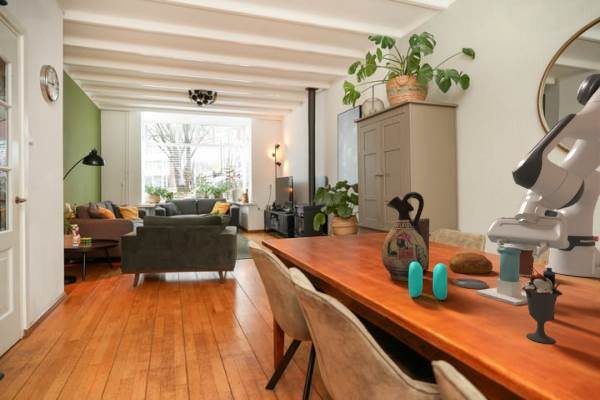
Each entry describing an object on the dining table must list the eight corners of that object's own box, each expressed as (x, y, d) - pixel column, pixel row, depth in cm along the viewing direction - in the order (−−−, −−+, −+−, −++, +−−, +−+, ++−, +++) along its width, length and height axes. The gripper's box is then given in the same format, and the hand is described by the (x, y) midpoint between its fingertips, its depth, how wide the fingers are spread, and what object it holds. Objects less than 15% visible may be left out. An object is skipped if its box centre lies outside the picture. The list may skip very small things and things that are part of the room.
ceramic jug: (377, 281, 120) (378, 191, 119) (384, 271, 134) (385, 191, 133) (431, 286, 113) (432, 192, 113) (433, 275, 128) (434, 191, 127)
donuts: (447, 305, 95) (447, 267, 95) (408, 301, 98) (408, 264, 98) (445, 294, 104) (446, 260, 104) (410, 291, 108) (410, 258, 107)
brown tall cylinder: (430, 273, 131) (430, 219, 130) (409, 272, 132) (409, 218, 132) (427, 269, 138) (427, 217, 138) (407, 268, 140) (407, 217, 139)
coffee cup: (504, 274, 129) (504, 241, 129) (510, 270, 136) (511, 239, 136) (534, 278, 123) (534, 244, 123) (539, 274, 130) (539, 241, 129)
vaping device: (550, 320, 83) (551, 269, 83) (527, 313, 88) (528, 265, 88) (557, 318, 85) (558, 268, 84) (533, 312, 89) (534, 264, 89)
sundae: (513, 332, 76) (514, 263, 76) (543, 331, 77) (544, 262, 76) (536, 346, 70) (538, 269, 69) (568, 345, 70) (570, 269, 70)
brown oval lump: (497, 281, 129) (501, 259, 129) (455, 274, 130) (458, 253, 129) (478, 270, 144) (482, 251, 143) (440, 265, 144) (443, 245, 144)
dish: (467, 279, 122) (467, 277, 122) (494, 286, 113) (494, 284, 113) (446, 282, 118) (446, 280, 118) (472, 290, 109) (472, 287, 109)
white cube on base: (503, 288, 110) (503, 273, 110) (543, 299, 100) (544, 282, 99) (476, 293, 105) (476, 277, 105) (515, 305, 94) (515, 287, 94)
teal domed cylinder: (506, 276, 106) (507, 246, 106) (524, 281, 101) (525, 249, 101) (494, 278, 104) (494, 247, 103) (512, 283, 99) (512, 250, 98)
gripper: (492, 210, 115) (477, 243, 110) (568, 213, 99) (555, 251, 93) (499, 223, 118) (484, 256, 112) (574, 228, 102) (561, 266, 96)
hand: (517, 254), depth 103 cm, fingers open, 8 cm apart
